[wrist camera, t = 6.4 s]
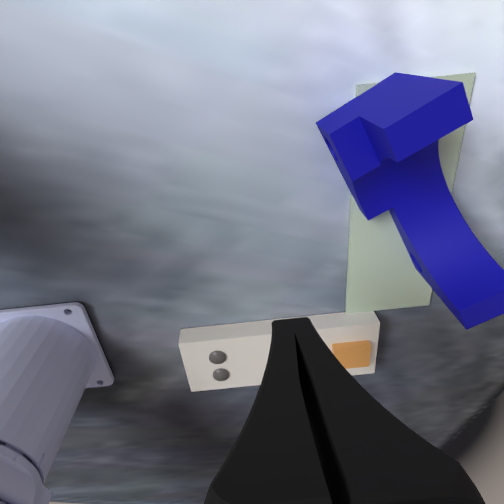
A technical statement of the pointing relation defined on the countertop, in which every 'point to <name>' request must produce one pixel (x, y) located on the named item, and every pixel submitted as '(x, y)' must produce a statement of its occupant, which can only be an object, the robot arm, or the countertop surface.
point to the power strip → (258, 346)
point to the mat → (392, 241)
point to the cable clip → (416, 184)
